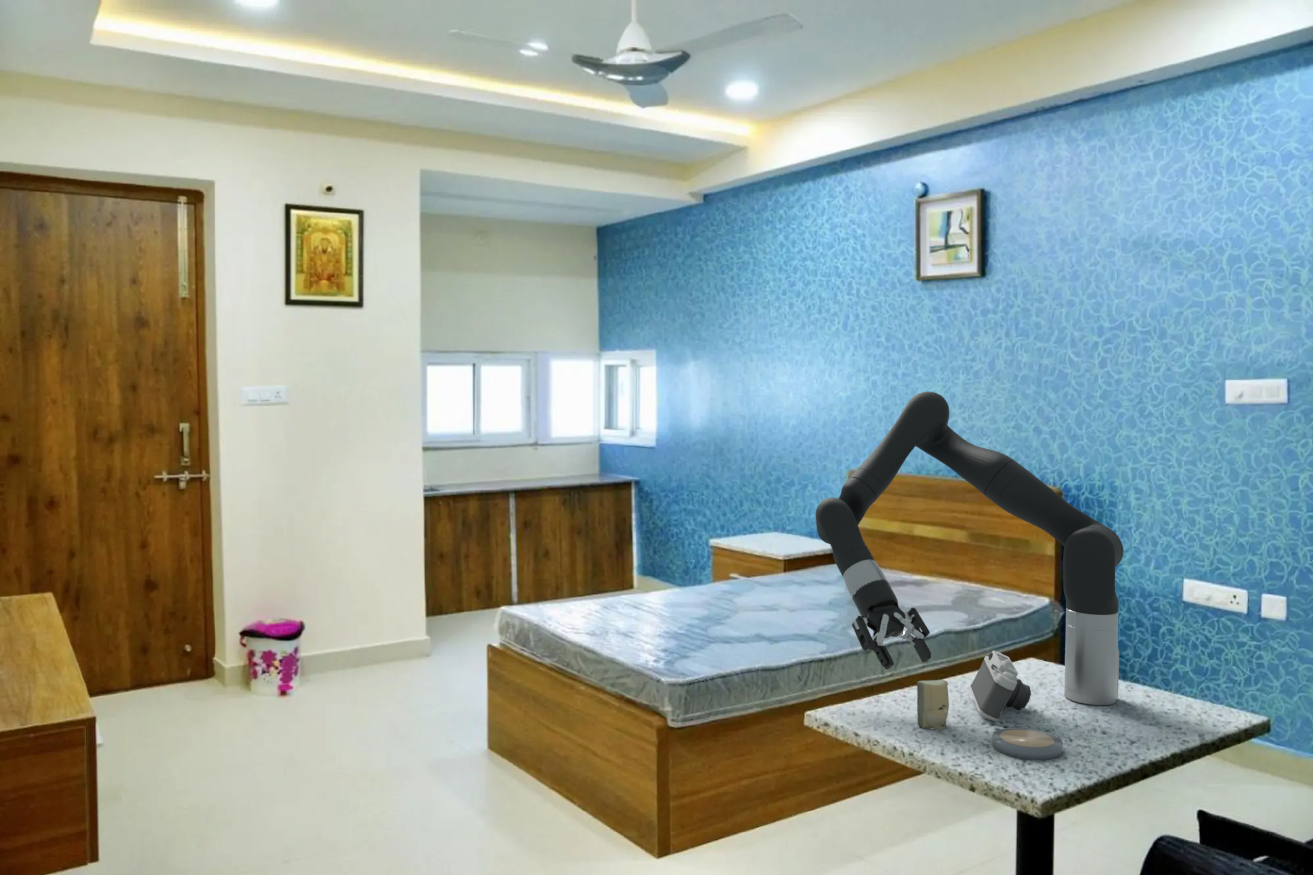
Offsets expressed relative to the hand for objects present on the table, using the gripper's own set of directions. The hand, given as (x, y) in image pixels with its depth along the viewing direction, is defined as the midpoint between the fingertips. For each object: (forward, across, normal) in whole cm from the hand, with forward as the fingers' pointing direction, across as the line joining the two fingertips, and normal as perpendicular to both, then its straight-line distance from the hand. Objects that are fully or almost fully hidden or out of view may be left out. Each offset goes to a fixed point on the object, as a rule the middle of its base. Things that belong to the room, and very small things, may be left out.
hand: (908, 663), depth 181 cm
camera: (+11, -17, -3) cm, 21 cm away
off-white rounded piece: (+12, 0, -2) cm, 12 cm away
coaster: (+22, -6, +10) cm, 25 cm away
